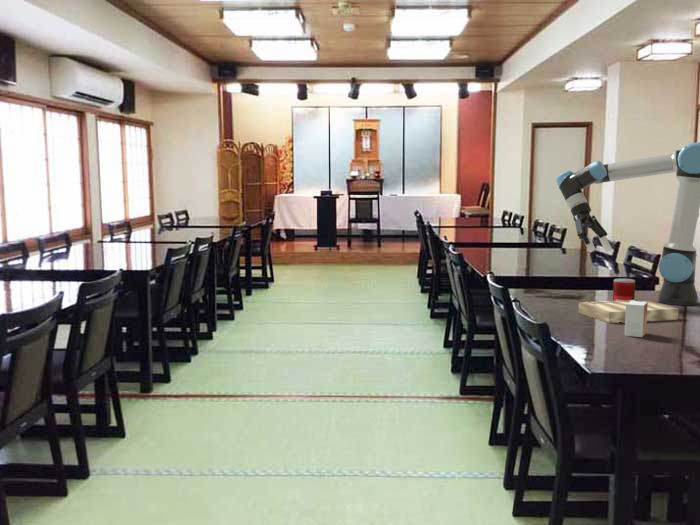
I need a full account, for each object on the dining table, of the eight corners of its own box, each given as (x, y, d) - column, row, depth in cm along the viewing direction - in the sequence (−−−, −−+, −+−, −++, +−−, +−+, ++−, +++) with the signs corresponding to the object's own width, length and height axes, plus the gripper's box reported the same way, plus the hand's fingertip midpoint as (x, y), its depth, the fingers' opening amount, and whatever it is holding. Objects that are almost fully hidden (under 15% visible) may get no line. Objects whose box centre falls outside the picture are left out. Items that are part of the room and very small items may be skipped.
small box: (642, 337, 217) (644, 305, 216) (624, 335, 220) (625, 303, 219) (646, 333, 224) (648, 301, 223) (628, 331, 227) (630, 300, 226)
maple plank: (643, 309, 265) (643, 299, 265) (678, 319, 246) (678, 308, 246) (578, 312, 260) (578, 302, 259) (608, 323, 240) (609, 311, 240)
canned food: (637, 308, 268) (638, 281, 266) (616, 308, 268) (618, 281, 266) (629, 305, 275) (630, 278, 274) (609, 305, 275) (610, 278, 274)
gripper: (586, 211, 294) (608, 255, 287) (555, 209, 277) (577, 255, 270) (601, 202, 289) (623, 246, 282) (570, 200, 272) (593, 246, 265)
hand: (601, 251), depth 276 cm, fingers open, 13 cm apart
